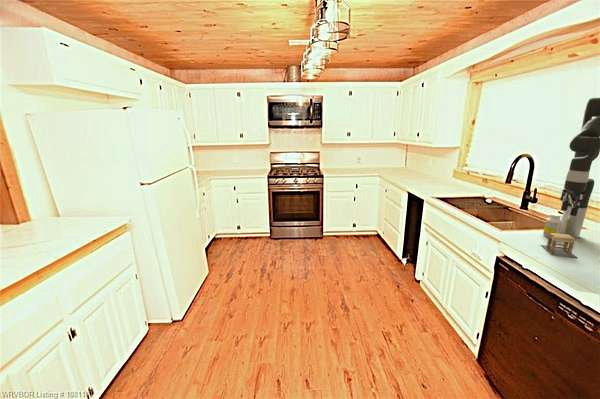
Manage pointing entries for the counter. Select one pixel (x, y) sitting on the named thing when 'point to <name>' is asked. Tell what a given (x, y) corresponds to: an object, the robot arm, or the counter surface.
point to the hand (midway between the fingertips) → (568, 212)
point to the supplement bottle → (552, 224)
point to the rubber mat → (559, 252)
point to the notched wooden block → (560, 237)
